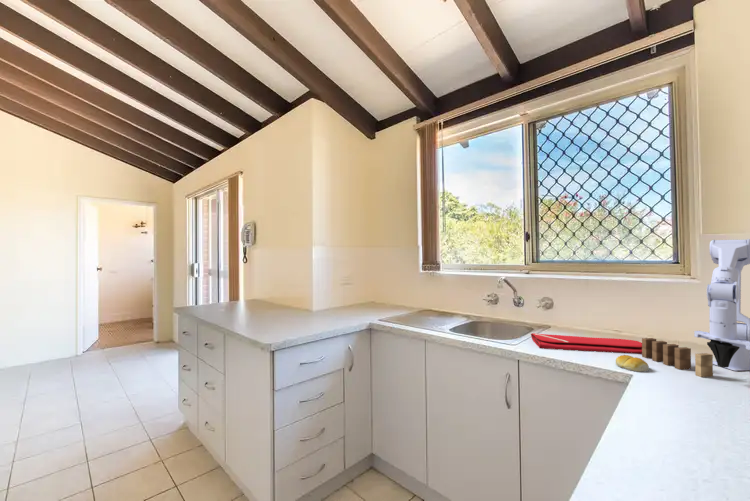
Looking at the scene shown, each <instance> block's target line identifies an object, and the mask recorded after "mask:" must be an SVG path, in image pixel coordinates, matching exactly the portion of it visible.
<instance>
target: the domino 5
mask: <svg viewBox="0 0 750 501" xmlns="http://www.w3.org/2000/svg"><path fill="white" fill-rule="evenodd" d="M694 355H695V357H694V359H695V364H694V366H695V371H694V372H695V374H694V375H695V376H696V377H700V378H707V377H713V375H714V370H713V369H714V368H713V367H714V366H713V365H714V364H713V361H714V360H713V358H714V357H713V355H714V354H713V353H708V352H704V353H703V352H701V353H695V354H694Z"/></svg>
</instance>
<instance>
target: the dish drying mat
mask: <svg viewBox="0 0 750 501" xmlns="http://www.w3.org/2000/svg"><path fill="white" fill-rule="evenodd" d="M530 337H531V340H532V341H533V343H534V344H535V345H536V346H537V347H538V349H543V348H544V349H546V350H558V349H563V350H562V351H575V350H578V351H581V352H594V351H596V352H599V353H612V352H613V353H614V354H615V353H616V354H636V355H642V341H639V340H634V339H626V338H625V339H624V338H614V337H613V338H610V337H588V336H575V335H560V334H550V333H548V334H547V333H537V332H535V333H534V332H533V333H532V332H531V333H530ZM578 351H577V352H578ZM596 352H595V353H596ZM613 353H612V354H613Z"/></svg>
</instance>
